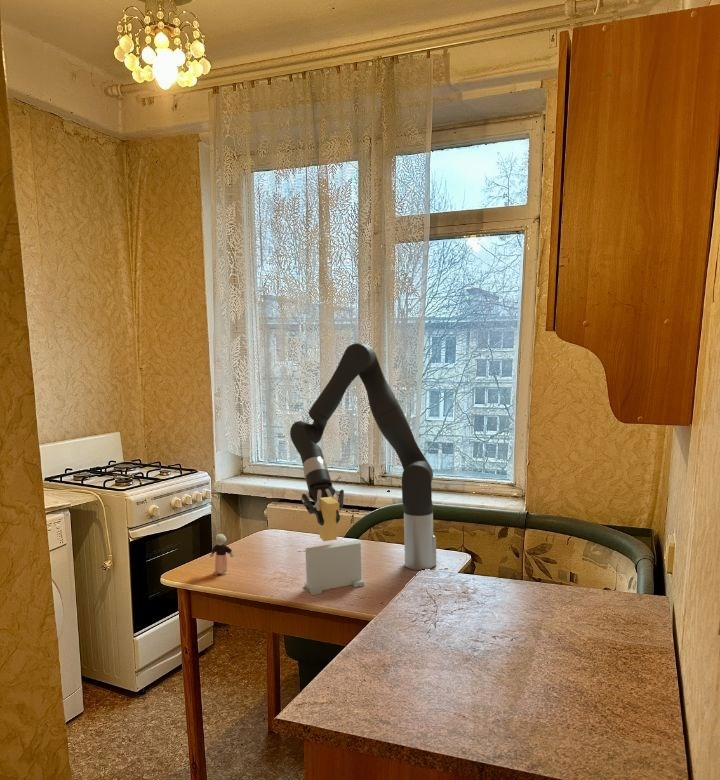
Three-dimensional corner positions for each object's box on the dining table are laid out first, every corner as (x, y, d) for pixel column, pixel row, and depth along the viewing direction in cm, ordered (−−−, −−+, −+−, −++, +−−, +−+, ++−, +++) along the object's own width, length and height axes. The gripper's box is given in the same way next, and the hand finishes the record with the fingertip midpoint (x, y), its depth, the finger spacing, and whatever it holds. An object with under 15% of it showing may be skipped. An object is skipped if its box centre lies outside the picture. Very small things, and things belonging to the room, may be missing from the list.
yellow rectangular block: (332, 535, 170) (331, 496, 169) (341, 543, 163) (340, 502, 162) (319, 537, 169) (318, 498, 168) (328, 545, 161) (327, 504, 160)
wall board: (355, 577, 170) (354, 538, 169) (364, 585, 164) (363, 545, 163) (304, 586, 164) (303, 546, 164) (311, 595, 158) (310, 553, 157)
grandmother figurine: (208, 576, 174) (206, 536, 173) (211, 571, 177) (209, 532, 177) (233, 575, 174) (231, 535, 173) (235, 570, 178) (234, 531, 177)
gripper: (296, 470, 171) (309, 519, 160) (340, 465, 176) (355, 513, 165) (292, 483, 176) (304, 532, 165) (335, 479, 181) (349, 526, 170)
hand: (329, 522), depth 165 cm, fingers closed on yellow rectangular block, 4 cm apart
